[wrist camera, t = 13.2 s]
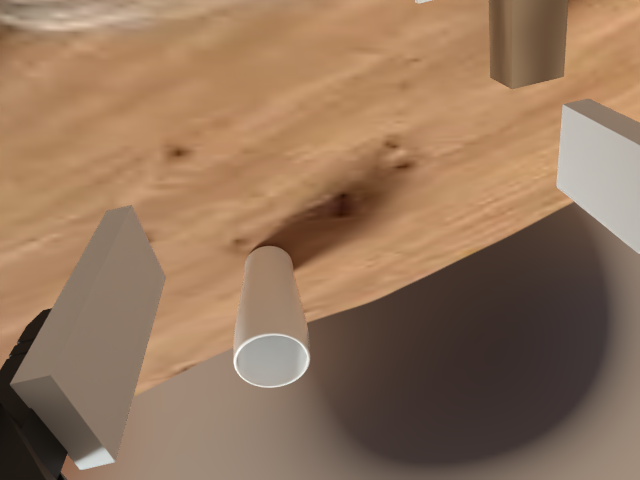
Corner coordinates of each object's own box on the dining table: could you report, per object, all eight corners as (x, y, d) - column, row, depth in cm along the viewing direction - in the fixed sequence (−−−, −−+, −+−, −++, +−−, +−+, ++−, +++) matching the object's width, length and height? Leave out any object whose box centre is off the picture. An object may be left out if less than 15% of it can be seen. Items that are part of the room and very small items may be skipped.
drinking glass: (278, 295, 56) (284, 397, 44) (227, 272, 54) (217, 373, 41) (310, 254, 54) (326, 350, 41) (258, 227, 51) (258, 321, 39)
